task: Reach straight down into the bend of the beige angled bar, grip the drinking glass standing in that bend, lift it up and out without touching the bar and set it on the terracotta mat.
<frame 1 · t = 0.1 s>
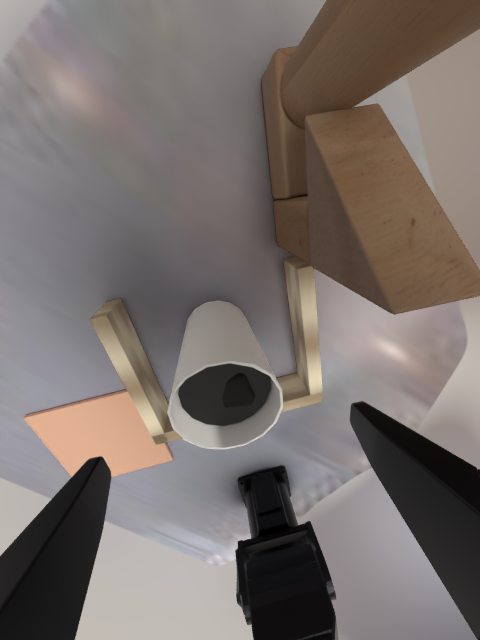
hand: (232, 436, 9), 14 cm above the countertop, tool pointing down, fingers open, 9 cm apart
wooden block: (291, 169, 19), on the countertop
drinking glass: (217, 328, 24), on the countertop
terracotta mat: (106, 438, 27), on the countertop
beige angled bar: (221, 345, 24), on the countertop
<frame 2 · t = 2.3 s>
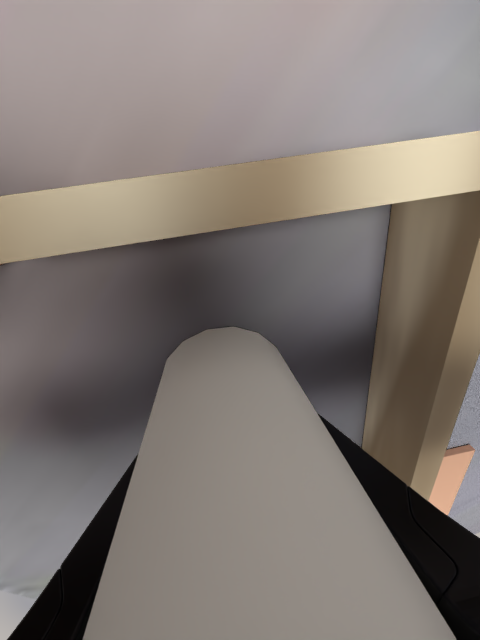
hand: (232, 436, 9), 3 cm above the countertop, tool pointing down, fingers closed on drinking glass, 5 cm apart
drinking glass: (224, 379, 12), on the countertop, touching gripper
terracotta mat: (381, 509, 19), on the countertop
beige angled bar: (261, 374, 12), on the countertop
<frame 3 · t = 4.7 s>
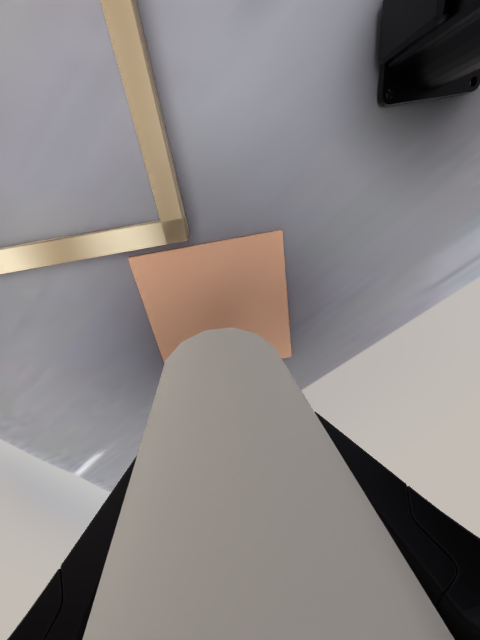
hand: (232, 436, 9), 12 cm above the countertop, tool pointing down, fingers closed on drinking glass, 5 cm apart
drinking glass: (223, 379, 12), point 9 cm above the countertop, touching gripper
terracotta mat: (220, 312, 20), on the countertop
beige angled bar: (30, 98, 14), on the countertop
when the fingers open (4 cm above the countertop, at t = 7.1 s): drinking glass stays where it is, resting on terracotta mat.
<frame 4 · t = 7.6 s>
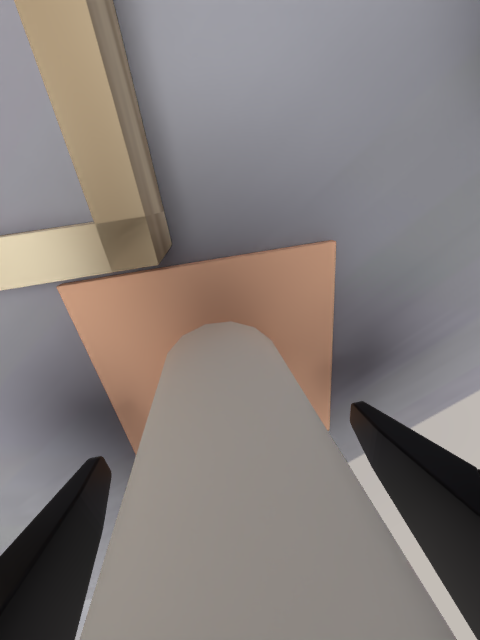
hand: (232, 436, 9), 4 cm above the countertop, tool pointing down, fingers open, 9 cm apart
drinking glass: (223, 372, 12), resting on terracotta mat
terracotta mat: (223, 370, 13), on the countertop
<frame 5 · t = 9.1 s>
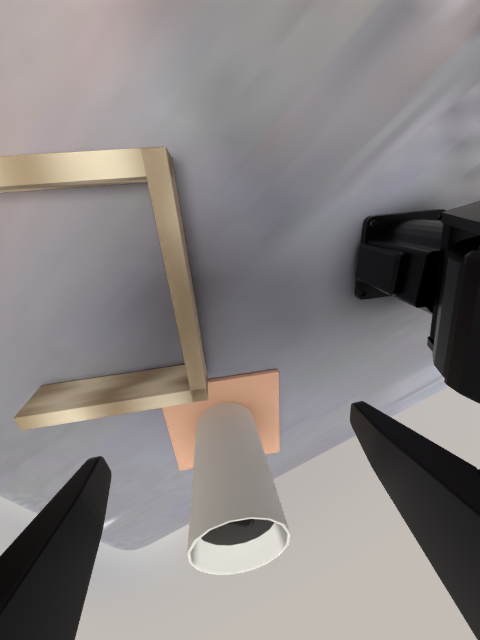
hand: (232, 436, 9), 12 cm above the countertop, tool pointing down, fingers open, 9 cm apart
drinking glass: (225, 423, 25), resting on terracotta mat
terracotta mat: (225, 421, 25), on the countertop
beige angled bar: (100, 295, 18), on the countertop
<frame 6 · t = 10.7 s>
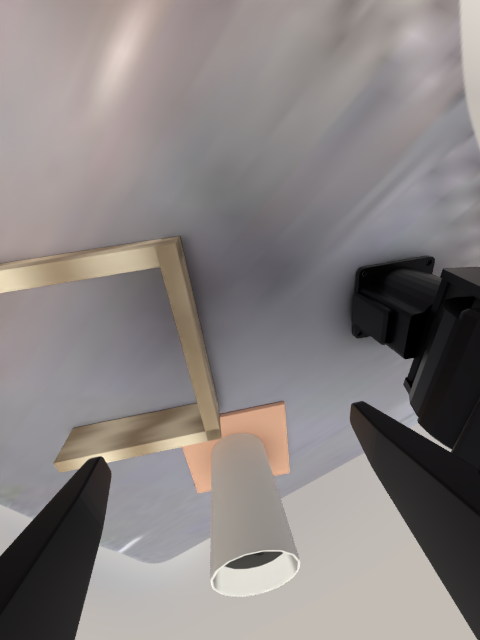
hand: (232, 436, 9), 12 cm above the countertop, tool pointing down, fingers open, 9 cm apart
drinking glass: (237, 450, 27), resting on terracotta mat
terracotta mat: (237, 448, 28), on the countertop
beige angled bar: (121, 351, 21), on the countertop
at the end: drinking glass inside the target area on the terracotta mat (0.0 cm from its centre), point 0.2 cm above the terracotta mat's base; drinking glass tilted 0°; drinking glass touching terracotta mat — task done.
